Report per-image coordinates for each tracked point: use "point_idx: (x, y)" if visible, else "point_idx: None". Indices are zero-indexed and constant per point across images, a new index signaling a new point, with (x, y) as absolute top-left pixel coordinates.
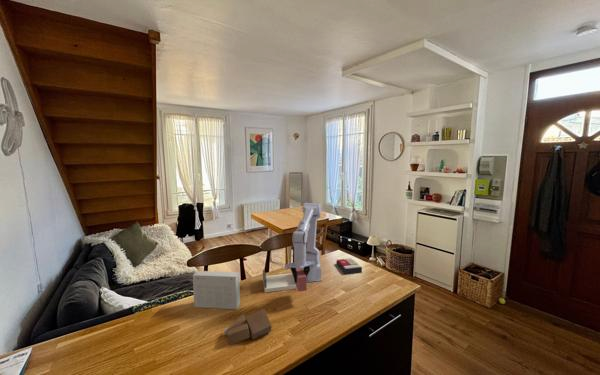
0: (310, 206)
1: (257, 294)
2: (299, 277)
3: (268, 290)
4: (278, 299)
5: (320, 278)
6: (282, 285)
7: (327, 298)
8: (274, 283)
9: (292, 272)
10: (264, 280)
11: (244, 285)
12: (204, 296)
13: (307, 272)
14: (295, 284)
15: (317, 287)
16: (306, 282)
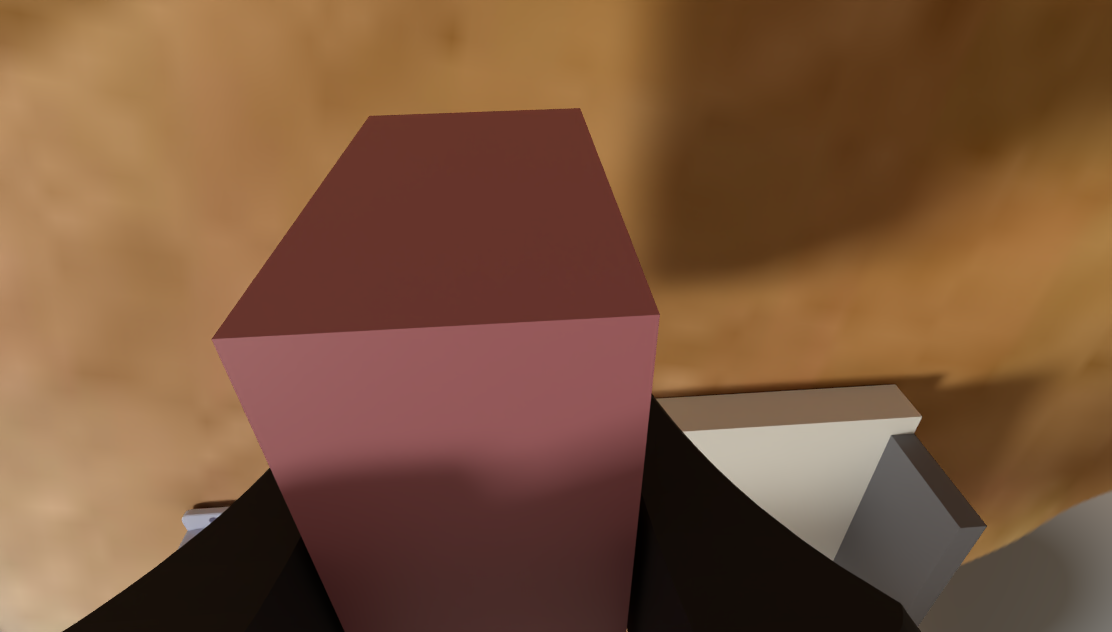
0: None
1: (987, 362)
2: (598, 316)
3: (863, 400)
4: (800, 231)
5: (190, 537)
6: None
7: (38, 128)
8: (769, 493)
9: (906, 612)
10: (979, 517)
11: (1021, 504)
12: None
13: (174, 593)
14: None
15: (233, 401)
16: (307, 206)
